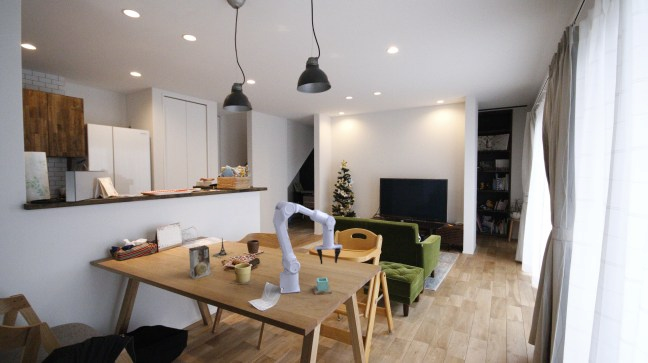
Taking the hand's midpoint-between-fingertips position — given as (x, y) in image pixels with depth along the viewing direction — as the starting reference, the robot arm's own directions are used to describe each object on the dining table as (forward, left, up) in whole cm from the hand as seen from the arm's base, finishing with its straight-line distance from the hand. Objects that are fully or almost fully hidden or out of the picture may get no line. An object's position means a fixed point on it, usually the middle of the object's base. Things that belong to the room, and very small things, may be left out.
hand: (328, 263), depth 153 cm
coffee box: (-71, +20, -10) cm, 74 cm away
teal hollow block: (-5, -12, -8) cm, 16 cm away
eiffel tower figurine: (-67, +60, -10) cm, 90 cm away
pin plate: (-5, -12, -9) cm, 16 cm away
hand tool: (-45, +27, -10) cm, 53 cm away
